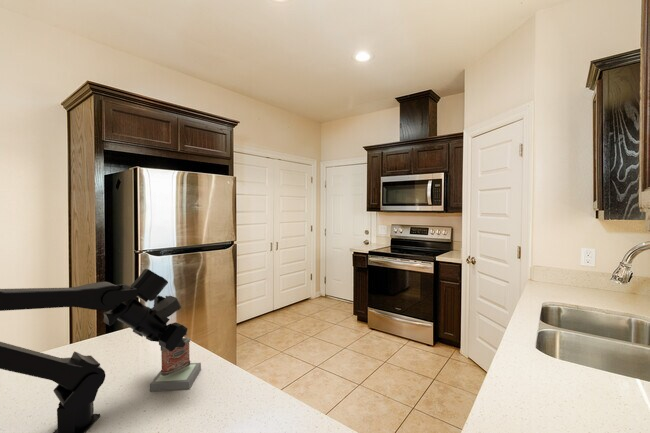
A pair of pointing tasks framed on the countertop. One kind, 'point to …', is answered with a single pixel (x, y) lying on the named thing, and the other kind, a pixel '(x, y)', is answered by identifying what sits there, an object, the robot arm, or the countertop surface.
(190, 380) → the baseplate
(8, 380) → the countertop surface
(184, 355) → the lighter
